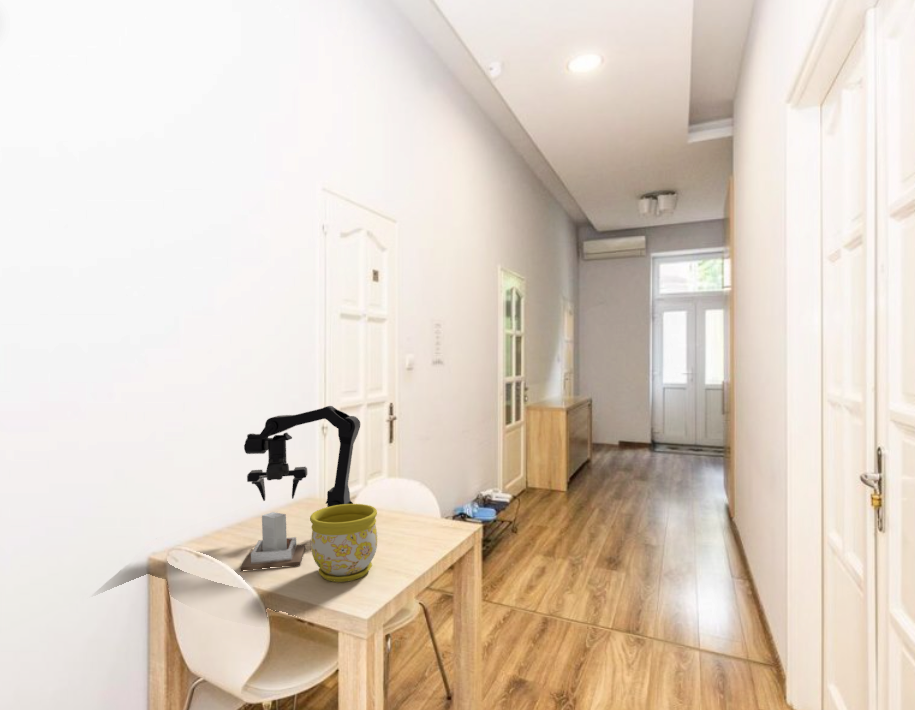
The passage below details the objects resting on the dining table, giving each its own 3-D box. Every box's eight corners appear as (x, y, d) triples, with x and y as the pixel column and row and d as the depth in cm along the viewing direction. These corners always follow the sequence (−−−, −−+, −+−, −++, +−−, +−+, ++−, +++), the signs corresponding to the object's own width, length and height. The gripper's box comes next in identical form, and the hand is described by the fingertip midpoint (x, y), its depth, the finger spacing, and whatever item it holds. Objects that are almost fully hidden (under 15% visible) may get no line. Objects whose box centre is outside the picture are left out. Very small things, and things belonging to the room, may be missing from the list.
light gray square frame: (296, 546, 157) (296, 537, 157) (291, 560, 146) (291, 550, 146) (258, 550, 155) (258, 540, 155) (251, 564, 144) (250, 553, 144)
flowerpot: (348, 592, 128) (346, 527, 128) (297, 579, 136) (295, 518, 136) (391, 565, 143) (390, 507, 143) (343, 555, 152) (341, 500, 152)
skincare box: (287, 554, 151) (286, 514, 151) (275, 559, 147) (274, 518, 147) (274, 550, 154) (272, 511, 154) (262, 555, 150) (261, 515, 151)
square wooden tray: (305, 548, 159) (305, 544, 159) (300, 565, 145) (299, 561, 145) (251, 553, 156) (251, 549, 156) (240, 571, 142) (240, 567, 142)
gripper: (242, 459, 162) (244, 508, 162) (303, 455, 166) (304, 503, 166) (250, 453, 173) (251, 499, 173) (306, 450, 177) (308, 495, 177)
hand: (278, 499), depth 172 cm, fingers open, 9 cm apart
